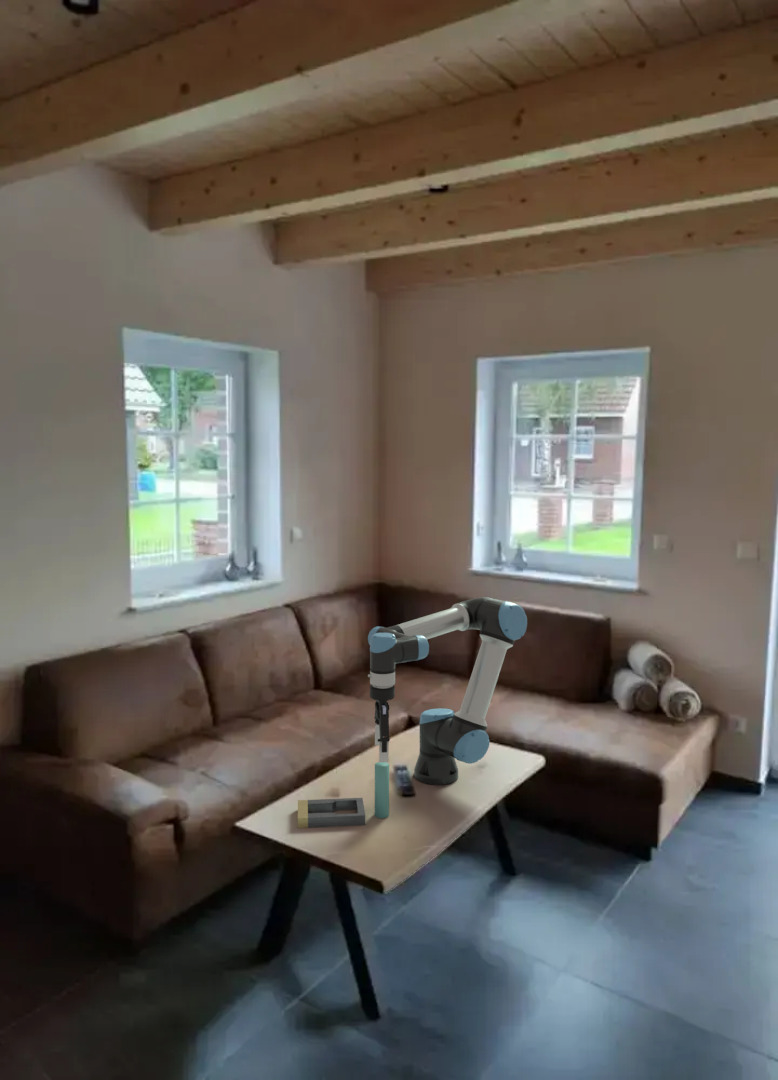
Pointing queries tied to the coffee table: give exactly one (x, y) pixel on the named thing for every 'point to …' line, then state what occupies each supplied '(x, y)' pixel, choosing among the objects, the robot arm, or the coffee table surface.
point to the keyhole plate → (324, 819)
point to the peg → (381, 790)
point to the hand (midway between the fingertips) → (381, 753)
